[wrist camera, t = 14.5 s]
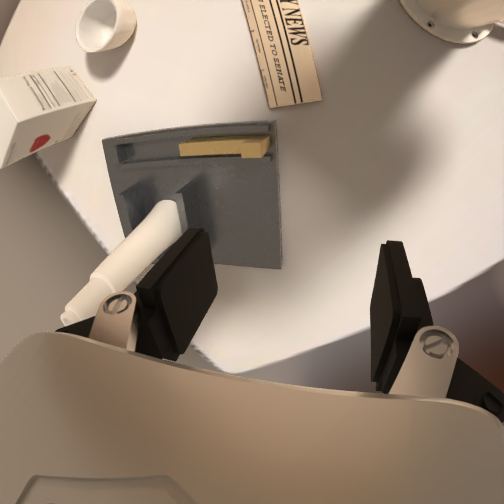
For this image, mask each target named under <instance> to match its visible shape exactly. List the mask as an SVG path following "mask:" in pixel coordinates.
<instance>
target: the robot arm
mask: <svg viewBox="0 0 504 504" xmlns="http://www.w3.org/2000/svg"><path fill="white" fill-rule="evenodd" d="M399 1H400V3H401V5H402V6H403V7H404V9H405V10H406V12H407V13H408V14H409V15H410V16H411V17H412V19H413V20H414V21H415V22H416V23H418V24H419V25H420V26H421V27H422V28H423V29H425V30H426V31H428V32H430V33H431V34H433V35H434V36H437V37H439V38H441V39H443V40H446V41H449V42H452V43H459V44H468V43H474V42H477V41H480V40H482V39H484V38H485V37H486V36H488V35H489V33H490V32H491V30H492V29H493V26H494V23H495V22H499V23H504V0H399ZM427 23H429V24H430V25H431V27H429V26H428V24H427ZM472 34H473V36H474V37H473V36H472ZM136 289H137V291H136V292H135V294H132V293H130V292H126V291H121V292H116V293H113V294H111V295H109V296H108V297H106V298H105V299H104V300H103V301H102V302H101V304H100V305H99V308H98V311H97V314H96V316H93V317H90V318H88V319H85V320H82V321H79V322H77V323H74V324H71V325H68V326H65V327H63V328H60V329H58V330H56V331H55V332H40V333H35V334H32V335H29V336H27V337H26V338H24V339H23V340H22V341H21V342H20V343H19V344H17V345H16V346H15V347H14V348H13V349H12V350H11V352H10V353H9V354H8V355H7V356H6V357H5V358H4V359H3V360H2V362H1V363H0V504H504V394H503V393H502V392H501V390H499V389H498V388H497V387H495V386H494V385H493V384H491V383H490V382H489V381H488V380H486V379H485V378H484V377H483V376H481V375H480V374H479V373H477V372H476V371H475V370H473V369H472V368H471V367H469V366H468V365H467V364H465V363H464V362H463V361H461V360H460V359H459V358H458V357H457V356H458V352H459V344H458V341H457V339H456V338H455V336H454V335H453V334H452V333H451V332H450V331H448V330H446V329H444V328H442V327H438V326H434V325H433V321H432V316H431V312H430V309H429V305H428V301H427V297H426V293H425V290H424V286H423V283H422V280H421V279H420V278H412V274H411V271H410V267H409V263H408V260H407V256H406V253H405V249H404V246H403V243H402V242H401V241H389V240H387V242H386V244H381V248H380V254H379V260H378V266H377V272H376V278H375V283H374V288H373V293H372V298H371V304H370V324H371V381H372V382H376V391H382V392H383V393H384V394H379V393H365V392H353V391H340V390H330V389H320V388H311V387H302V386H295V385H288V384H281V383H275V382H268V381H261V380H256V379H249V378H244V377H238V376H233V375H228V374H223V373H218V372H213V371H209V370H204V369H200V368H195V367H191V366H186V365H182V364H178V363H174V362H170V361H166V360H162V359H163V358H164V359H168V360H172V361H176V360H177V359H178V357H179V355H180V354H183V353H184V352H185V351H186V349H187V347H188V345H189V344H190V342H191V340H192V338H193V336H194V335H195V333H196V331H197V329H198V327H199V326H200V324H201V322H202V320H203V318H204V317H205V315H206V313H207V311H208V309H209V308H210V306H211V304H212V302H213V300H214V299H215V297H216V295H217V291H218V286H217V281H216V275H215V269H214V263H213V257H212V251H211V245H210V239H209V234H208V233H207V232H205V231H204V229H203V228H188V229H187V230H186V231H185V232H184V233H183V234H182V235H181V237H180V238H179V239H178V240H177V241H176V242H175V243H174V244H173V245H172V246H171V247H170V249H169V250H168V251H167V252H166V253H165V254H164V255H163V256H162V257H161V259H160V260H159V261H158V262H157V263H156V264H155V265H154V266H153V268H152V269H151V270H150V271H149V272H148V273H147V274H146V275H145V277H144V278H143V279H142V280H141V281H140V282H139V284H138V285H137V286H136Z"/></svg>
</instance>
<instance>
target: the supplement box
mask: <svg viewBox="0 0 504 504" xmlns="http://www.w3.org/2000/svg"><path fill="white" fill-rule="evenodd" d="M95 102H96V98H95V97H94V96H93V94H92V93H91V92H90V90H89V89H88V88H87V86H86V85H85V84H84V82H83V81H82V80H81V78H80V77H79V76H78V75H77V73H76V72H75V71H74V69H73V68H72V67H71V66H66V67H59V68H51V69H45V70H39V71H33V72H28V73H23V74H18V75H13V76H9V77H4V78H0V168H1V169H2V168H3V167H6V166H8V165H10V164H12V163H14V162H16V161H18V160H20V159H22V158H24V157H26V156H29V155H31V154H33V153H35V152H37V151H40V150H42V149H44V148H47V147H49V146H51V145H54V144H56V143H59V142H61V141H64V140H66V139H69V138H72V136H73V135H74V133H75V132H76V130H77V128H78V127H79V125H80V124H81V122H82V121H83V119H84V118H85V116H86V115H87V113H88V112H89V111H90V109H91V108H92V106H93V105H94V103H95Z"/></svg>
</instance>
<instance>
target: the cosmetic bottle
mask: <svg viewBox="0 0 504 504" xmlns="http://www.w3.org/2000/svg"><path fill="white" fill-rule="evenodd" d="M181 235H182V230H181V225H180V219H179V214H178V209H177V204H176V202H175V201H172V200H162V201H160V202H158V203H157V204H156V205H155V206H154V208H153V209H152V210H151V212H150V213H149V214H148V215H147V217H146V218H145V219H144V220H143V221H142V222H141V223H140V224H139V225H138V226H137V227H136V228H135V229H134V230H133V231H132V232H131V233H130V234H129V235H128V236H127V237H126V238H125V239H124V240H123V241H122V242H121V243H120V244H119V245H118V246H117V247H116V248H115V249H114V250H113V251H112V252H111V253H110V255H109V256H108V257H107V258H106V259H105V260H104V261H103V262H102V263H101V264H100V265H99V266H98V267H97V268H96V270H95V271H94V272H93V273H92V274H91V276H90V282H89V283H88V284H87V285H86V286H84V288H83V289H82V290H81V291H80V292H79V293H78V294H77V295H76V296H75V297H74V298H73V299H72V300H71V301H70V302H69V303H68V304H67V305H66V307H65V312H63V313H62V314H61V316H60V317H61V320H62V322H63V324H64V325H65V326H68V325H71V324H74V323H77V322H79V321H82V320H85V319H88V318H90V317H93V316H95V315H96V314H97V311H98V308H99V305H100V304H101V302H102V301H103V300H104V299H105V298H106V297H108V296H109V295H111V294H113V293H116V292H121V291H123V290H124V289H125V288H126V287H127V286H128V285H129V284H130V283H131V282H132V281H133V280H134V279H135V278H136V277H137V276H138V275H139V274H140V273H141V272H142V271H143V270H144V269H145V268H146V267H147V266H148V265H150V264H151V263H152V262H153V261H154V260H155V259H156V258H157V257H158V256H159V255H160V254H161V253H162V252H163V251H165V250H166V249H167V248H168V247H169V246H171V245H172V244H173V243H175V242H176V241H177V240H178V239H179V238H180V237H181Z"/></svg>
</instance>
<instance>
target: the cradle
mask: <svg viewBox="0 0 504 504" xmlns="http://www.w3.org/2000/svg"><path fill="white" fill-rule="evenodd" d="M246 135H270V138H271V148H270V149H269V150H268V151H267V152H266V153H265V154H264V155H263V156H262V157H261V158H242V157H241V154H213V155H193V156H180V150H179V143H182V142H184V141H186V140H188V139H194V138H208V137H224V136H246ZM102 144H103V149H104V154H105V159H106V163H107V168H108V173H109V177H110V182H111V186H112V190H113V194H114V198H115V202H116V206H117V210H118V214H119V218H120V221H121V225H122V229H123V232H124V236H125V238H126V237H127V236H128V235H129V234H130V233H131V232H132V231H133V230H134V229H135V228H136V227H137V226H138V225H139V224H140V223H141V222H142V221H143V220H144V219H145V218H146V217H147V215H148V214H149V213H150V212H151V210H152V209H153V208H154V206H155V205H156V204H157V203H158V202H160V201H162V200H172V201H175V202H176V204H177V209H178V214H179V219H180V225H181V230H182V234H183V233H184V232H185V231H186V230H187V229H188V228H203V229H204V231H205V232H207V233H208V234H209V239H210V245H211V251H212V257H213V263H216V264H227V265H238V266H249V267H260V268H272V269H281V268H282V237H281V210H280V186H279V165H278V146H277V129H276V121H247V122H229V123H215V124H203V125H193V126H183V127H175V128H167V129H159V130H152V131H145V132H139V133H132V134H126V135H121V136H115V137H110V138H105V139H103V140H102ZM173 244H174V243H173ZM173 244H172V245H173ZM172 245H171V246H172ZM171 246H169V247H168V248H167V249H166V250H165V251H163V252H162V253H161V254H160V255H159V256H158V257H157V258H156V259H155V260H154V261H153V262H152V264H156V263H157V262H158V261H159V260H160V259H161V257H162V256H163V255H164V254H165V253H166V252H167V251H168V250H169V249H170V247H171Z"/></svg>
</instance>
